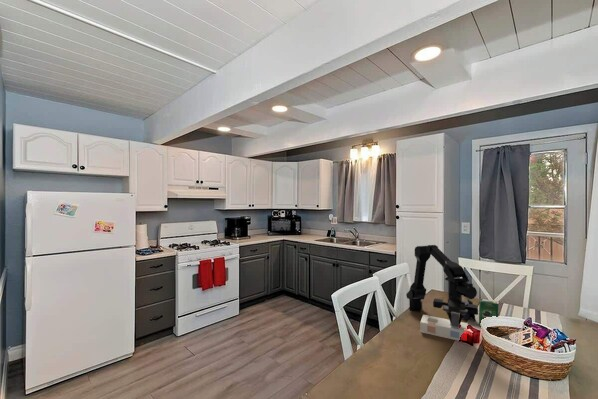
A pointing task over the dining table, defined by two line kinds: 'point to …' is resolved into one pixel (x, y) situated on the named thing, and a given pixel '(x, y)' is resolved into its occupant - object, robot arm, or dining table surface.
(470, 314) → the speaker
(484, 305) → the coffee box
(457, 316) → the plug
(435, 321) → the port block
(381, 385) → the dining table surface
